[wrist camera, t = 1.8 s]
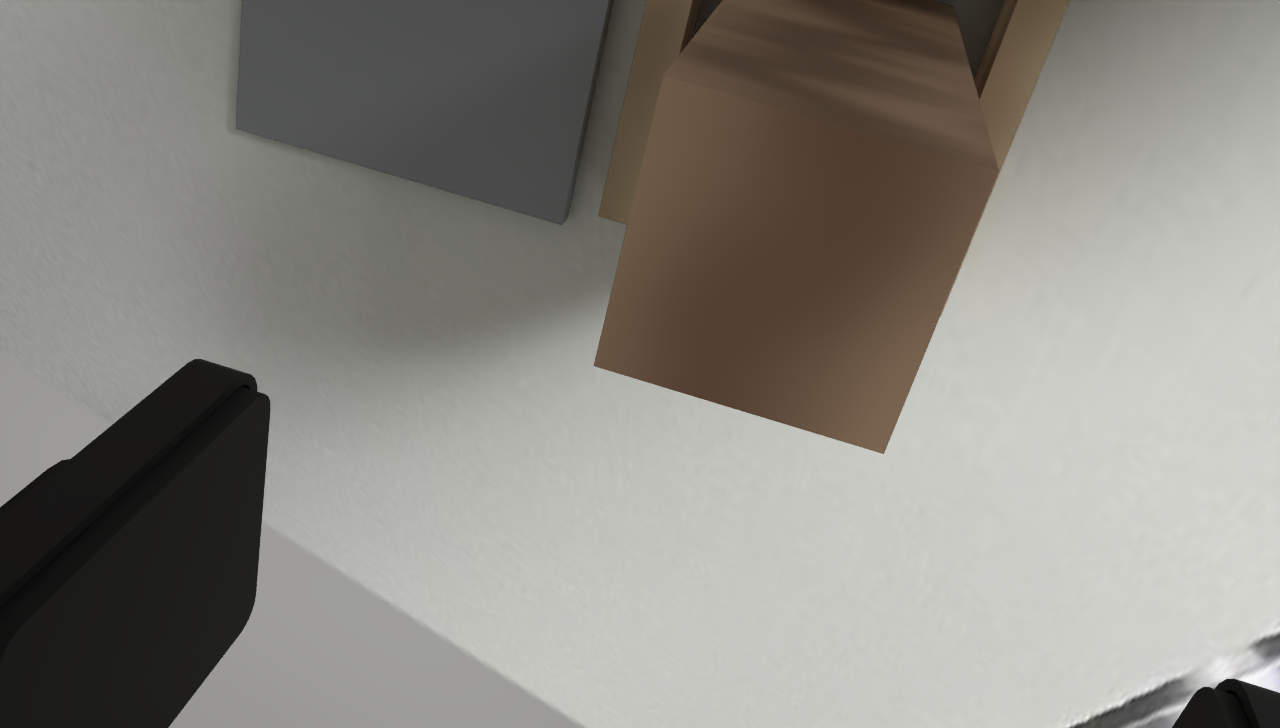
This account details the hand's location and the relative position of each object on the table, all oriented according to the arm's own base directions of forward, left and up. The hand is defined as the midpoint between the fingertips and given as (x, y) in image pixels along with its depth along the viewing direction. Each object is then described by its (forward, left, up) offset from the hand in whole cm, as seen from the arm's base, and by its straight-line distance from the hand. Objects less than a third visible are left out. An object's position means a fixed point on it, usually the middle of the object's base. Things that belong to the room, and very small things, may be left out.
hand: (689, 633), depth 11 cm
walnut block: (0, 0, -24) cm, 24 cm away
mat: (+12, +1, -24) cm, 27 cm away
